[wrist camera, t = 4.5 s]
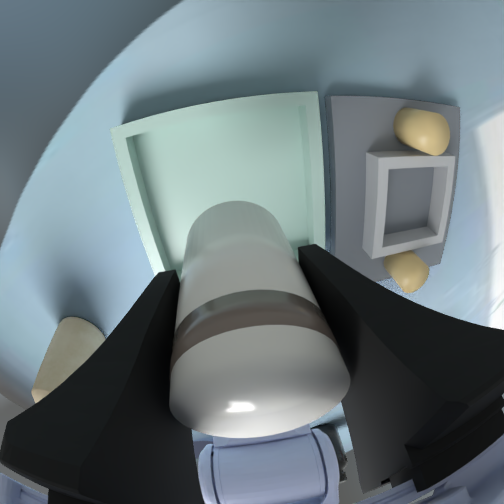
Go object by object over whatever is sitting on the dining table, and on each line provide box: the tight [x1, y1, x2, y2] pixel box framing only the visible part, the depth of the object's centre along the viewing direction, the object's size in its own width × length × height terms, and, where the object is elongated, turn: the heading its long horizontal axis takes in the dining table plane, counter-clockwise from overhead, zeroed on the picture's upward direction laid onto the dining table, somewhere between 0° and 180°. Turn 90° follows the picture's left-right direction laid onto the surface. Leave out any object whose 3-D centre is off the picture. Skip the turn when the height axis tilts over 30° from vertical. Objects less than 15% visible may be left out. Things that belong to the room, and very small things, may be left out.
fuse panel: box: [325, 96, 460, 293], centre depth 17 cm, size 15×12×4 cm
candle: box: [32, 317, 106, 403], centre depth 18 cm, size 6×6×10 cm
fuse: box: [169, 201, 350, 438], centre depth 8 cm, size 4×4×7 cm
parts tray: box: [110, 91, 325, 282], centre depth 17 cm, size 12×12×2 cm
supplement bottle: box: [311, 424, 348, 484], centre depth 37 cm, size 7×7×12 cm
